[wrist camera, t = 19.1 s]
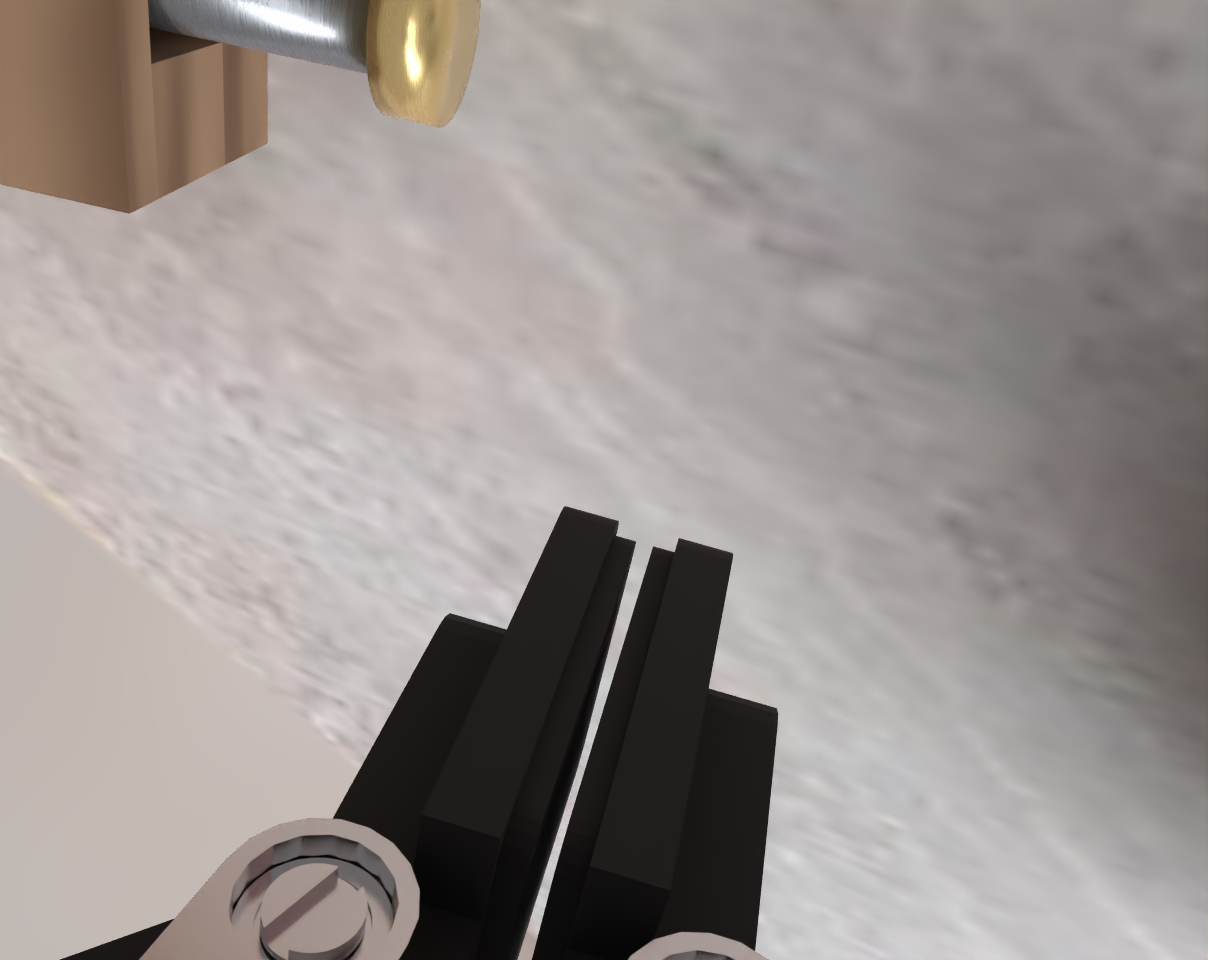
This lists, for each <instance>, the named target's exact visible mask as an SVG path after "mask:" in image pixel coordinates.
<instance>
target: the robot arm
mask: <svg viewBox="0 0 1208 960" xmlns="http://www.w3.org/2000/svg"><path fill="white" fill-rule="evenodd" d="M618 524H619V521H616V520H613V519H609V518H606V517H602V516H599V515H595V514H591V513H588V512H584V511H581V510H577V509H574V508H570V507H566V506H565V507H564V508H563V510H562V511H561V513H560V516H559V518H558V520H557V522H556V524H555V526H554V529H553V531H552V533H551V535H550V537H549V539H548V542H547V544H546V546H545V548H544V550H543V552H542V555H541V557H540V559H539V561H538V563H537V565H536V568H535V570H534V572H533V574H532V576H531V578H530V581H529V583H528V585H527V587H526V589H525V591H524V594H523V596H522V598H521V600H520V602H519V604H518V607H517V609H516V611H515V613H514V615H513V617H512V620H511V622H510V624H509V626H508V628H507V630H506V629H502V628H499V627H495V626H492V625H489V624H485V623H482V622H478V621H475V620H471V619H468V618H465V617H461V616H458V615H454V614H451V613H450V614H448V615H447V616H446V617H445V618H444V619H443V621H442V622H441V624H440V625H439V627H438V629H437V630H436V632H435V634H434V636H433V638H432V639H431V641H430V643H429V645H428V647H427V649H426V650H425V652H424V654H423V656H422V658H421V659H420V661H419V663H418V665H417V667H416V668H415V670H414V672H413V674H412V676H411V678H410V679H409V681H408V683H407V685H406V687H405V688H404V690H403V692H402V694H401V696H400V697H399V699H398V701H397V703H396V705H395V707H394V708H393V710H392V712H391V714H390V716H389V717H388V719H387V721H386V723H385V725H384V727H383V728H382V730H381V732H380V734H379V736H378V737H377V739H376V741H375V743H374V745H373V746H372V748H371V750H370V752H369V754H368V756H367V757H366V759H365V761H364V763H363V765H362V766H361V768H360V770H359V772H358V774H357V775H356V777H355V779H354V781H353V783H352V785H351V786H350V788H349V790H348V792H347V794H346V795H345V797H344V799H343V801H342V803H341V804H340V806H339V808H338V810H337V812H336V814H335V816H334V817H333V819H322V818H307V819H303V820H298V821H293V822H288V823H284V824H279V825H277V826H274V827H272V828H270V829H268V830H266V831H264V832H262V833H260V834H258V835H256V836H254V837H252V838H250V839H249V840H248V841H246V842H245V843H244V844H243V845H242V846H240V847H239V848H238V849H237V850H236V851H235V852H234V853H232V854H231V855H230V856H229V857H228V858H227V859H226V860H225V861H224V862H223V863H222V864H221V866H220V867H219V868H218V869H217V870H216V871H215V873H214V874H213V875H212V876H211V877H210V878H209V879H208V881H207V882H206V883H205V884H204V885H203V886H202V888H201V889H200V890H199V891H198V892H197V893H196V895H195V896H194V897H193V898H192V899H191V900H190V901H189V903H188V904H187V905H186V906H185V907H184V908H183V910H182V911H181V912H180V913H179V914H178V915H177V916H176V918H175V919H172V920H169V921H167V922H164V923H161V924H158V925H155V926H153V927H150V928H147V929H144V930H142V931H139V932H136V933H133V934H130V935H128V936H125V937H122V938H119V939H116V940H113V941H111V942H108V943H105V944H102V945H100V946H97V947H94V948H91V949H89V950H86V951H83V952H80V953H78V954H75V955H72V956H69V957H66V958H63V959H60V960H517V959H518V956H519V953H520V950H521V946H522V943H523V940H524V937H525V934H526V931H527V928H528V924H529V921H530V918H531V915H532V912H533V908H534V905H535V902H536V899H537V896H538V892H539V889H540V886H541V883H542V880H543V877H544V873H545V870H546V867H547V864H548V861H549V857H550V854H551V851H552V848H553V845H554V842H555V838H556V835H557V832H558V829H559V826H560V822H561V819H562V816H563V813H564V810H565V807H566V803H567V800H568V797H569V794H570V791H571V787H572V784H573V781H574V778H575V775H576V771H577V768H578V765H579V761H580V758H581V754H582V750H583V747H584V743H585V739H586V736H587V732H588V728H589V724H590V720H591V716H592V712H593V708H594V704H595V701H596V697H597V693H598V689H599V685H600V681H601V677H602V673H603V669H604V666H605V662H606V658H607V654H608V650H609V646H610V642H611V638H612V634H613V631H614V627H615V623H616V619H617V615H618V611H619V607H620V603H621V599H622V596H623V592H624V588H625V584H626V580H627V576H628V572H629V568H630V564H631V561H632V557H633V553H634V549H635V544H636V541H632V540H629V539H625V538H622V537H618V536H616V534H617V529H618ZM732 559H733V553H730V552H727V551H723V550H719V549H716V548H712V547H709V546H705V545H702V544H698V543H695V542H691V541H687V540H684V539H680V538H679V540H678V543H677V546H676V550H675V552H671V551H668V550H664V549H661V548H657V547H653V549H652V552H651V555H650V559H649V562H648V565H647V569H646V572H645V575H644V578H643V582H642V585H641V588H640V591H639V595H638V598H637V601H636V605H635V608H634V611H633V614H632V618H631V621H630V624H629V628H628V631H627V634H626V637H625V641H624V644H623V647H622V650H621V654H620V657H619V660H618V664H617V667H616V670H615V673H614V677H613V680H612V683H611V686H610V690H609V693H608V696H607V700H606V703H605V706H604V709H603V713H602V716H601V719H600V723H599V726H598V729H597V732H596V736H595V739H594V742H593V745H592V749H591V752H590V755H589V759H588V762H587V765H586V768H585V772H584V775H583V778H582V781H581V785H580V788H579V791H578V795H577V798H576V801H575V804H574V808H573V811H572V814H571V818H570V821H569V824H568V828H567V831H566V834H565V838H564V841H563V845H562V848H561V852H560V855H559V859H558V862H557V866H556V870H555V873H554V877H553V881H552V884H551V888H550V892H549V896H548V900H547V904H546V908H545V911H544V915H543V919H542V923H541V927H540V931H539V934H538V938H537V942H536V946H535V950H534V954H533V958H532V960H768V959H767V958H765V957H763V956H762V955H760V954H759V953H757V952H755V946H756V936H757V926H758V916H759V906H760V896H761V886H762V876H763V866H764V856H765V846H766V836H767V826H768V816H769V806H770V796H771V786H772V776H773V766H774V756H775V746H776V736H777V726H778V712H777V708H774V707H770V706H767V705H763V704H760V703H757V702H753V701H750V700H746V699H743V698H739V697H736V696H732V695H729V694H726V693H722V692H719V691H715V690H712V689H708V688H709V683H710V677H711V672H712V667H713V661H714V656H715V651H716V645H717V640H718V634H719V629H720V624H721V618H722V613H723V608H724V602H725V597H726V592H727V586H728V581H729V576H730V570H731V565H732Z"/></svg>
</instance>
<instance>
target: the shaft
mask: <svg viewBox="0 0 1208 960" xmlns="http://www.w3.org/2000/svg"><path fill="white" fill-rule="evenodd" d="M480 4H481V0H148V13H149V28H154V29H159V30H164V31H168V32H173V33H178V34H183V35H187V36H192V37H197V38H202V39H206V40H211V41H216V42H220V43H225V44H230V45H235V46H239V47H244V48H249V49H254V50H258V51H263V52H268V53H273V54H277V55H282V56H287V57H292V58H296V59H301V60H306V61H311V62H315V63H320V64H325V65H330V66H334V67H339V68H344V69H348V70H353V71H358V72H363V73H367V74H368V80H369V85H370V90H371V94H372V97H373V100H374V102H375V104H376V107H377V108H378V110H379V111H380V112H381V113H382V114H383V115H386V116H389V117H394V118H398V119H403V120H408V121H412V122H417V123H422V124H426V125H431V126H436V127H443V126H445V125H446V124H448V123H449V122H450V120H451V119H452V118H453V116H454V115H455V113H456V111H457V109H458V107H459V105H460V103H461V100H462V98H463V95H464V93H465V90H466V87H467V83H468V80H469V76H470V73H471V69H472V64H473V59H474V55H475V49H476V43H477V36H478V29H479V19H480Z"/></svg>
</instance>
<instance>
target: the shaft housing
mask: <svg viewBox="0 0 1208 960" xmlns="http://www.w3.org/2000/svg"><path fill="white" fill-rule="evenodd" d="M265 144H267V52H263V51H258V50H254V49H249V48H244V47H239V46H235V45H230V44H225V43H220V42H216V41H211V40H206V39H202V38H197V37H192V36H187V35H183V34H178V33H173V32H168V31H164V30H159V29H154V28H149V13H148V0H0V184H1V185H6V186H10V187H14V188H19V189H23V190H28V191H32V192H37V193H41V194H45V195H50V196H54V197H59V198H63V199H68V200H72V201H76V202H81V203H85V204H90V205H94V206H99V207H103V208H107V209H112V210H116V211H121V212H125V213H132V212H134V211H136V210H137V209H139V208H141V207H143V206H145V205H147V204H149V203H151V202H153V201H155V200H157V199H159V198H161V197H163V196H165V195H167V194H169V193H171V192H173V191H175V190H177V189H179V188H181V187H183V186H185V185H187V184H188V183H190V182H192V181H194V180H196V179H198V178H200V177H202V176H204V175H206V174H208V173H210V172H212V171H214V170H216V169H218V168H220V167H222V166H224V165H226V164H228V163H230V162H232V161H234V160H236V159H237V158H239V157H241V156H243V155H245V154H247V153H249V152H251V151H253V150H255V149H257V148H259V147H261V146H263V145H265Z"/></svg>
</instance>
